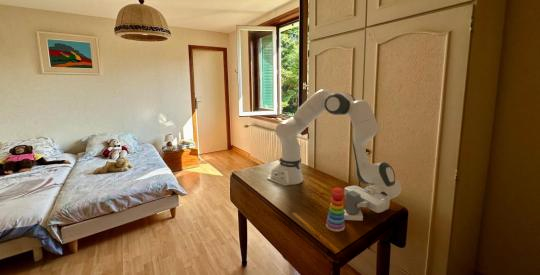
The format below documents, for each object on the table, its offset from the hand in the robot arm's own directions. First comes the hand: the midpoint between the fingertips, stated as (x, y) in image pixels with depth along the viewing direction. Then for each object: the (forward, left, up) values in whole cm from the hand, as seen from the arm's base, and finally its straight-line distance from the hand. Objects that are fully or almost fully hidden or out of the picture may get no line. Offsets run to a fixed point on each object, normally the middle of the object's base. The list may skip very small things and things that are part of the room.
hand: (351, 202), depth 112 cm
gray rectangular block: (0, +1, -7) cm, 7 cm away
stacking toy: (-4, -10, -9) cm, 14 cm away
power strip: (-1, 0, -9) cm, 9 cm away
